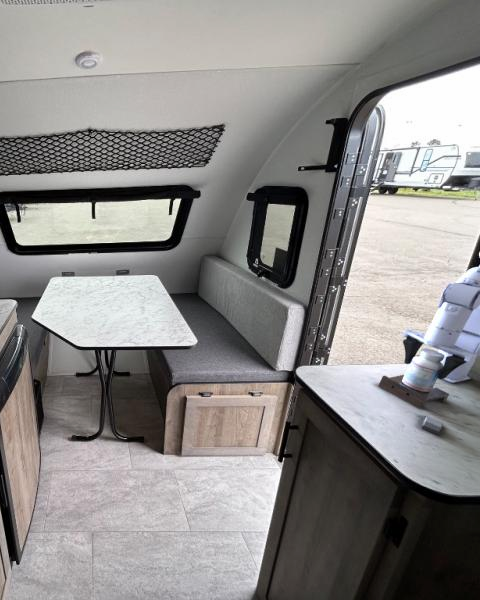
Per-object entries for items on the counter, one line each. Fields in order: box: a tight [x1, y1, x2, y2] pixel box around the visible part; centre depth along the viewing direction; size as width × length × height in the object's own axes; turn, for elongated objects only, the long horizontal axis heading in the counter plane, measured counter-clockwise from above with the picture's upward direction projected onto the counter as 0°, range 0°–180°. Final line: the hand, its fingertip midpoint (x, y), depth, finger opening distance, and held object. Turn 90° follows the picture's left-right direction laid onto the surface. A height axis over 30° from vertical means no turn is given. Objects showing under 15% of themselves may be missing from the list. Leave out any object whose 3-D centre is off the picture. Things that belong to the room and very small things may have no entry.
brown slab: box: [378, 374, 450, 409], centre depth 94 cm, size 12×10×4 cm
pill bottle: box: [402, 347, 445, 392], centre depth 91 cm, size 6×6×11 cm
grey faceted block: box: [420, 415, 443, 436], centre depth 81 cm, size 6×3×2 cm, turn 131°
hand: (423, 370), depth 92 cm, fingers open, 7 cm apart
